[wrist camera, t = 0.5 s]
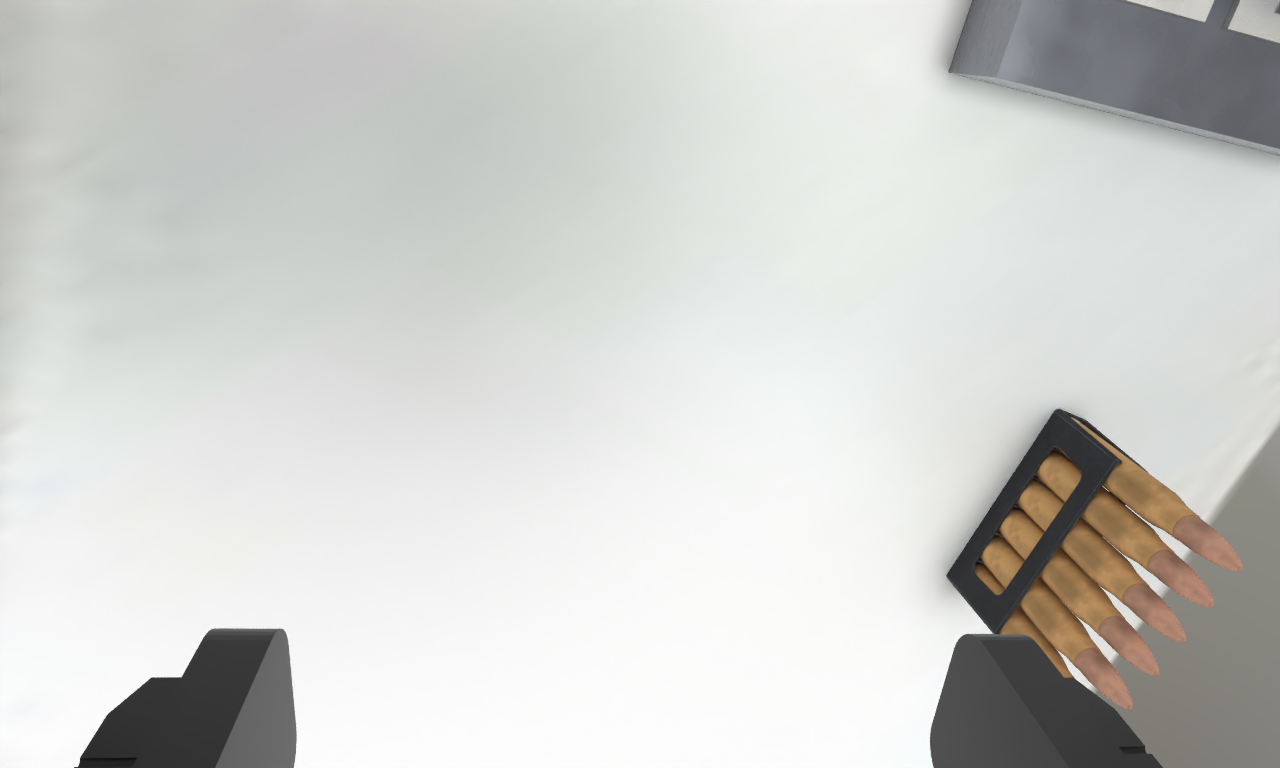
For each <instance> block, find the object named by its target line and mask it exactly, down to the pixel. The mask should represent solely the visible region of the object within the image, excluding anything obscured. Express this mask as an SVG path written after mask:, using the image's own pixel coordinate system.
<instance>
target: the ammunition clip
mask: <svg viewBox="0 0 1280 768" xmlns="http://www.w3.org/2000/svg"><path fill="white" fill-rule="evenodd" d="M1102 486H1104V487H1105V488H1106V489H1107V490H1109V492H1108V491H1107V490H1106V489H1105V488H1104V487H1102ZM1125 505H1127V506H1128V507H1130V508H1131V509H1132V510H1133V511H1135V512H1136V513H1137V514H1138V515H1140V516H1141V517H1142V518H1143V519H1145V520H1146V521H1148V522H1149V523H1151V524H1152V525H1154V526H1156V527H1158V528H1160V529H1162V530H1164V531H1166V532H1167V533H1168V534H1170V535H1171V536H1172V537H1174V538H1175V539H1177V540H1179V541H1180V542H1182V543H1183V544H1184V545H1185V546H1187V547H1188V548H1189V549H1191V550H1192V551H1194V552H1196V553H1197V554H1199V555H1200V556H1202V557H1204V558H1205V559H1207V560H1209V561H1211V562H1213V563H1215V564H1217V565H1219V566H1222V567H1224V568H1227V569H1230V570H1234V571H1242V570H1243V566H1242V563H1241V561H1240V559H1239V557H1238V556H1237V554H1236V553H1235V552H1234V550H1233V549H1232V548H1231V546H1230V545H1229V544H1228V543H1227V542H1226V540H1225V539H1223V537H1222V536H1220V535H1219V534H1218V533H1217V532H1216V531H1215V530H1214V529H1213V528H1212V527H1210V526H1209V525H1208V524H1207V523H1205V522H1204V521H1203V520H1201V518H1200V517H1199V516H1198V515H1197V514H1195V513H1194V512H1193V511H1192V510H1190V509H1189V508H1188V507H1187V506H1186V504H1185V503H1184V502H1183V501H1182V500H1181V498H1180V497H1179V496H1178V495H1177V494H1175V493H1174V492H1173V491H1171V490H1170V489H1169V488H1167V487H1166V486H1165V485H1163V484H1162V483H1161V482H1159V481H1158V480H1157V479H1155V478H1154V477H1153V476H1151V475H1150V474H1149V473H1148V472H1147V471H1146V470H1145V469H1144V468H1143V467H1141V466H1140V465H1139V464H1138V463H1137V462H1135V461H1134V460H1133V459H1132V458H1131V457H1129V456H1128V455H1127V454H1126V453H1125V452H1123V451H1122V450H1121V449H1120V448H1119V447H1117V446H1116V445H1115V444H1114V443H1113V442H1112V441H1110V440H1109V439H1108V438H1107V437H1106V436H1104V435H1103V434H1102V433H1101V432H1100V431H1098V430H1097V429H1096V428H1095V427H1094V426H1092V425H1091V424H1090V423H1089V422H1088V421H1086V420H1084V419H1082V418H1079V417H1077V416H1075V415H1072V414H1070V413H1068V412H1065V411H1063V410H1060V409H1059V410H1057V411H1054V413H1053V414H1052V416H1051V417H1050V419H1049V420H1048V422H1047V423H1046V425H1045V426H1044V428H1043V429H1042V431H1041V432H1040V434H1039V435H1038V437H1037V438H1036V440H1035V442H1034V443H1033V445H1032V446H1031V448H1030V449H1029V451H1028V452H1027V454H1026V455H1025V457H1024V458H1023V460H1022V461H1021V463H1020V464H1019V466H1018V467H1017V469H1016V470H1015V472H1014V473H1013V475H1012V476H1011V478H1010V480H1009V481H1008V483H1007V484H1006V486H1005V487H1004V489H1003V490H1002V492H1001V493H1000V495H999V496H998V498H997V499H996V501H995V502H994V504H993V505H992V507H991V508H990V510H989V511H988V513H987V514H986V516H985V517H984V519H983V521H982V522H981V524H980V525H979V527H978V528H977V530H976V531H975V533H974V534H973V536H972V537H971V539H970V540H969V542H968V543H967V545H966V546H965V548H964V549H963V551H962V552H961V554H960V555H959V557H958V558H957V560H956V562H955V563H954V565H953V566H952V568H951V569H950V571H949V572H948V574H947V575H946V576H947V578H948V579H949V581H950V582H951V583H952V584H953V585H954V587H955V588H956V589H957V590H958V591H959V593H960V594H961V595H962V596H963V597H964V599H965V600H966V601H967V602H968V604H969V605H970V606H971V607H972V608H973V610H974V611H975V612H976V613H977V614H978V616H979V617H980V618H981V619H982V620H983V622H984V623H985V624H986V625H987V627H988V628H989V629H990V630H991V631H992V633H993V634H1023V635H1027V636H1029V637H1031V638H1032V639H1033V640H1035V642H1036V643H1037V644H1038V645H1039V646H1040V647H1041V649H1042V650H1043V651H1044V652H1045V654H1046V655H1047V656H1048V658H1049V659H1050V660H1051V661H1052V663H1053V664H1054V665H1055V667H1056V668H1057V669H1058V670H1059V672H1060V673H1061V674H1062V675H1063V677H1064V678H1074V677H1073V676H1072V674H1071V673H1070V672H1069V670H1068V668H1067V666H1066V664H1065V662H1064V660H1063V658H1062V657H1061V655H1060V654H1059V653H1058V651H1060V652H1061V653H1062V654H1063V655H1065V656H1066V657H1067V658H1068V659H1069V660H1070V661H1071V662H1072V664H1073V665H1074V666H1075V667H1076V668H1078V669H1079V670H1080V671H1081V673H1082V674H1083V675H1084V676H1085V677H1086V678H1087V679H1088V681H1089V682H1090V683H1092V684H1093V685H1094V686H1095V687H1096V688H1097V689H1098V690H1099V691H1100V692H1101V693H1102V694H1104V695H1105V696H1106V697H1108V698H1109V699H1110V700H1112V701H1114V702H1115V703H1116V704H1118V705H1120V706H1122V707H1124V708H1126V709H1132V707H1133V705H1132V700H1131V697H1130V694H1129V692H1128V690H1127V688H1126V686H1125V684H1124V683H1123V681H1122V679H1121V678H1120V676H1119V674H1118V673H1117V672H1116V670H1115V669H1114V667H1113V666H1112V665H1111V663H1110V662H1109V661H1108V660H1107V658H1106V657H1105V656H1104V655H1103V654H1102V652H1101V651H1100V649H1099V648H1098V647H1097V645H1096V644H1095V643H1094V642H1093V641H1092V639H1091V638H1090V636H1089V634H1088V632H1087V631H1086V629H1085V627H1084V626H1083V624H1082V623H1081V622H1080V621H1079V619H1081V620H1082V621H1084V622H1085V623H1086V624H1088V625H1089V626H1090V627H1091V628H1092V629H1093V630H1094V631H1095V632H1096V633H1097V634H1098V635H1099V636H1101V637H1102V638H1103V639H1104V640H1105V641H1106V642H1107V643H1108V644H1109V645H1110V646H1111V647H1112V648H1113V649H1114V650H1115V651H1116V652H1117V653H1119V654H1120V655H1121V656H1122V657H1123V658H1125V659H1126V660H1127V661H1129V662H1130V663H1131V664H1133V665H1134V666H1136V667H1137V668H1139V669H1141V670H1142V671H1144V672H1146V673H1149V674H1151V675H1154V676H1158V675H1159V669H1158V665H1157V663H1156V661H1155V659H1154V657H1153V655H1152V653H1151V652H1150V650H1149V648H1148V647H1147V645H1146V644H1145V642H1144V641H1143V640H1142V638H1141V637H1140V636H1139V634H1138V633H1137V632H1136V631H1135V630H1134V628H1133V627H1132V626H1131V625H1130V624H1129V623H1128V622H1127V621H1126V620H1125V618H1124V617H1123V616H1122V615H1121V613H1120V612H1119V611H1118V610H1117V609H1116V608H1115V607H1114V605H1113V604H1112V602H1111V600H1110V599H1109V597H1108V596H1107V594H1106V593H1105V592H1104V590H1103V589H1102V588H1104V589H1105V590H1107V591H1108V592H1110V593H1112V594H1113V595H1114V596H1115V597H1116V598H1117V599H1119V600H1120V601H1121V602H1122V603H1123V604H1124V605H1126V606H1127V607H1128V608H1129V609H1130V610H1132V611H1133V612H1134V613H1135V614H1136V615H1137V616H1138V617H1139V618H1140V619H1142V620H1143V621H1144V622H1146V623H1147V624H1148V625H1150V626H1151V627H1153V628H1154V629H1155V630H1157V631H1159V632H1160V633H1162V634H1164V635H1165V636H1167V637H1169V638H1171V639H1174V640H1176V641H1179V642H1185V641H1186V636H1185V633H1184V630H1183V628H1182V626H1181V624H1180V623H1179V621H1178V620H1177V618H1176V616H1175V615H1174V613H1173V612H1172V611H1171V609H1169V607H1168V606H1167V605H1166V603H1165V602H1164V601H1163V600H1162V599H1161V598H1160V597H1159V596H1158V595H1157V594H1156V593H1155V592H1154V591H1153V590H1152V589H1151V588H1150V587H1149V585H1148V584H1147V583H1146V582H1145V581H1144V580H1143V579H1142V578H1141V577H1140V576H1139V575H1138V574H1137V572H1136V571H1135V569H1134V568H1133V566H1132V565H1131V563H1130V562H1129V561H1128V560H1127V559H1126V558H1125V557H1124V556H1123V555H1122V554H1124V555H1125V556H1127V557H1129V558H1130V559H1132V560H1134V561H1136V562H1137V563H1139V564H1140V565H1141V566H1142V567H1144V568H1145V569H1146V570H1147V571H1149V572H1150V573H1152V574H1153V575H1154V576H1156V577H1157V578H1158V579H1159V580H1160V581H1161V582H1163V583H1164V584H1165V585H1167V586H1168V587H1170V588H1171V589H1172V590H1174V591H1175V592H1177V593H1178V594H1180V595H1182V596H1183V597H1186V598H1187V599H1189V600H1191V601H1193V602H1195V603H1197V604H1200V605H1203V606H1206V607H1213V606H1214V601H1213V599H1212V596H1211V594H1210V593H1209V591H1208V589H1207V588H1206V586H1205V585H1204V583H1203V582H1202V581H1201V579H1200V578H1199V577H1198V576H1197V574H1196V573H1195V572H1194V571H1193V570H1192V569H1191V568H1190V567H1189V566H1188V565H1187V564H1186V563H1185V562H1184V561H1183V560H1182V559H1180V558H1179V557H1178V556H1177V555H1176V554H1175V553H1174V551H1172V550H1171V549H1170V548H1169V547H1168V546H1167V545H1166V544H1165V543H1164V542H1163V541H1162V540H1161V539H1160V537H1159V536H1158V535H1157V533H1156V532H1155V531H1154V529H1152V528H1151V527H1150V526H1149V525H1148V524H1147V523H1146V522H1144V521H1143V520H1142V519H1141V518H1140V517H1138V516H1137V515H1136V514H1135V513H1134V512H1132V511H1131V510H1130V509H1129V508H1128V507H1126V506H1125ZM1103 537H1104V538H1105V539H1104V538H1103ZM1107 540H1108V541H1109V542H1110V543H1111V544H1112V545H1113V546H1114V547H1115V548H1116V549H1118V550H1119V551H1120V552H1121V553H1122V554H1121V553H1120V552H1119V551H1117V550H1116V549H1115V548H1114V547H1113V546H1112V545H1111V544H1110V543H1109V542H1108V541H1107ZM1100 586H1101V587H1102V588H1101V587H1100ZM1062 601H1063V602H1064V603H1063V602H1062ZM1071 611H1072V612H1073V613H1074V614H1075V615H1076V616H1077V617H1078V618H1079V619H1078V618H1077V617H1076V616H1075V615H1074V614H1073V613H1072V612H1071ZM1054 647H1055V648H1056V649H1057V650H1058V651H1057V650H1056V649H1055V648H1054ZM1074 679H1075V678H1074Z"/></svg>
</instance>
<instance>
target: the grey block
mask: <svg viewBox="0 0 1280 768" xmlns="http://www.w3.org/2000/svg"><path fill="white" fill-rule="evenodd" d="M949 73H953V74H957V75H961V76H965V77H969V78H973V79H977V80H981V81H985V82H989V83H992V84H996V85H1000V86H1004V87H1008V88H1012V89H1016V90H1020V91H1024V92H1028V93H1032V94H1036V95H1040V96H1044V97H1048V98H1052V99H1056V100H1060V101H1064V102H1068V103H1072V104H1076V105H1080V106H1084V107H1088V108H1092V109H1096V110H1100V111H1104V112H1108V113H1112V114H1116V115H1120V116H1124V117H1128V118H1132V119H1136V120H1140V121H1144V122H1148V123H1152V124H1156V125H1160V126H1164V127H1168V128H1172V129H1176V130H1180V131H1184V132H1188V133H1192V134H1196V135H1200V136H1204V137H1208V138H1212V139H1216V140H1220V141H1224V142H1228V143H1232V144H1236V145H1240V146H1244V147H1248V148H1252V149H1256V150H1260V151H1264V152H1268V153H1272V154H1276V155H1280V0H973V2H972V5H971V8H970V11H969V14H968V17H967V20H966V23H965V26H964V29H963V32H962V35H961V38H960V41H959V44H958V47H957V50H956V53H955V56H954V59H953V62H952V65H951V68H950V71H949Z"/></svg>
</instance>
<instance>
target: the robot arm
mask: <svg viewBox="0 0 1280 768" xmlns="http://www.w3.org/2000/svg"><path fill="white" fill-rule="evenodd" d="M930 748H931V757H932V762H933V766H934V768H1163V767H1162V766H1161V765H1160V764H1159V763H1158V761H1157V760H1156V759H1155V758H1154V756H1153V755H1152V754H1147V753H1146V751H1145V745H1144V744H1143V743H1142V742H1141V741H1140V739H1139V738H1138V737H1137V736H1136V734H1135V733H1134V732H1133V731H1132V730H1131V728H1130V727H1129V726H1128V725H1127V724H1126V722H1125V721H1124V720H1123V719H1122V717H1121V716H1120V715H1119V714H1118V712H1117V711H1116V710H1115V709H1114V708H1113V707H1111V706H1110V705H1109V704H1107V703H1106V702H1105V701H1103V700H1102V699H1101V698H1099V697H1098V696H1097V695H1095V694H1094V693H1093V692H1091V691H1090V690H1089V689H1088V688H1086V687H1085V686H1084V685H1082V684H1081V683H1080V682H1078V681H1077V680H1076V679H1074V678H1064V677H1063V675H1062V674H1061V673H1060V672H1059V670H1058V669H1057V668H1056V667H1055V665H1054V664H1053V663H1052V661H1051V660H1050V659H1049V658H1048V656H1047V655H1046V654H1045V652H1044V651H1043V650H1042V649H1041V647H1040V646H1039V645H1038V644H1037V643H1036V642H1035V640H1033V639H1032V638H1031V637H1029V636H1027V635H1023V634H966V635H963V636H962V637H961V638H960V639H959V640H958V642H957V643H956V646H955V648H954V652H953V655H952V658H951V662H950V665H949V669H948V672H947V675H946V679H945V682H944V686H943V689H942V692H941V696H940V699H939V703H938V706H937V709H936V713H935V716H934V720H933V723H932V727H931V734H930ZM295 754H296V721H295V710H294V699H293V688H292V678H291V667H290V656H289V645H288V639H287V635H286V633H285V631H284V630H283V629H211V630H210V631H209V632H208V633H207V634H206V635H205V637H204V638H203V640H202V642H201V643H200V645H199V647H198V649H197V651H196V652H195V654H194V656H193V658H192V660H191V661H190V663H189V665H188V667H187V669H186V670H185V672H184V674H183V676H182V677H178V678H151V679H149V680H148V681H147V682H146V683H145V684H143V685H142V686H141V687H140V688H139V689H137V690H136V691H135V692H134V693H133V694H131V695H130V696H129V697H128V698H127V699H125V700H124V701H123V702H122V703H121V704H119V705H118V706H117V707H116V708H115V709H114V710H112V711H111V712H110V713H109V714H108V715H107V716H106V718H105V719H104V721H103V723H102V724H101V726H100V727H99V729H98V731H97V732H96V734H95V735H94V737H93V738H92V740H91V742H90V743H89V745H88V746H87V748H86V750H85V751H84V753H83V754H82V756H81V758H80V764H79V766H78V767H74V768H294V762H295Z"/></svg>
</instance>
